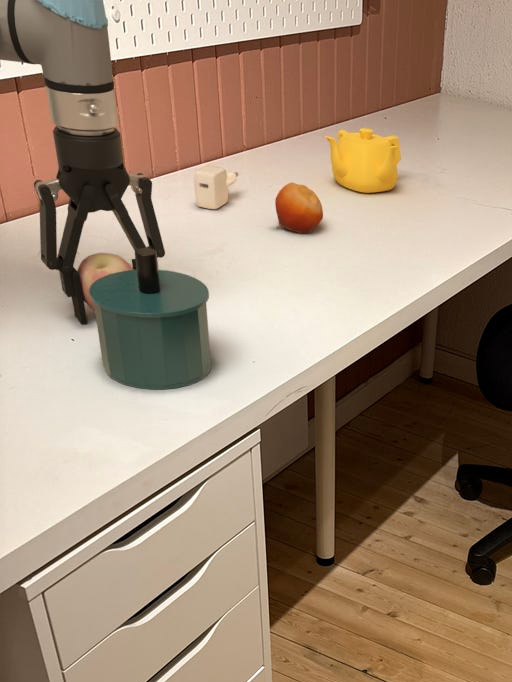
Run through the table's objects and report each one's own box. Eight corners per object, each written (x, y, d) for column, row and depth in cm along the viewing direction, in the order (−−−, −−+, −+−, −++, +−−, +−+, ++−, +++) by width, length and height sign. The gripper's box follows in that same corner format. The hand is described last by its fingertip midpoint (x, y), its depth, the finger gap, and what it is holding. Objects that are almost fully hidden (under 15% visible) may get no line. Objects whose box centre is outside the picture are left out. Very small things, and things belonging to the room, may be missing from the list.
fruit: (274, 207, 164) (297, 168, 159) (312, 238, 166) (335, 201, 161) (257, 220, 158) (280, 181, 153) (296, 253, 160) (320, 215, 155)
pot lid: (74, 285, 114) (66, 237, 110) (183, 272, 120) (178, 226, 117) (114, 329, 106) (107, 279, 102) (228, 313, 112) (225, 265, 109)
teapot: (323, 191, 179) (323, 133, 172) (335, 171, 189) (336, 116, 182) (396, 201, 179) (398, 143, 172) (404, 181, 189) (407, 126, 183)
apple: (70, 313, 127) (59, 252, 122) (120, 300, 132) (112, 241, 127) (105, 333, 124) (96, 271, 118) (155, 319, 128) (148, 259, 123)
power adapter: (218, 190, 172) (216, 155, 168) (244, 194, 172) (242, 159, 168) (192, 207, 164) (189, 170, 160) (219, 212, 163) (216, 175, 160)
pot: (89, 353, 119) (78, 281, 113) (187, 338, 125) (180, 269, 119) (126, 397, 112) (115, 322, 106) (227, 378, 118) (223, 307, 112)
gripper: (3, 140, 105) (41, 337, 120) (182, 131, 116) (197, 315, 130) (-16, 122, 110) (24, 315, 125) (159, 115, 120) (176, 294, 135)
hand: (113, 314), depth 128 cm, fingers closed on apple, 8 cm apart
